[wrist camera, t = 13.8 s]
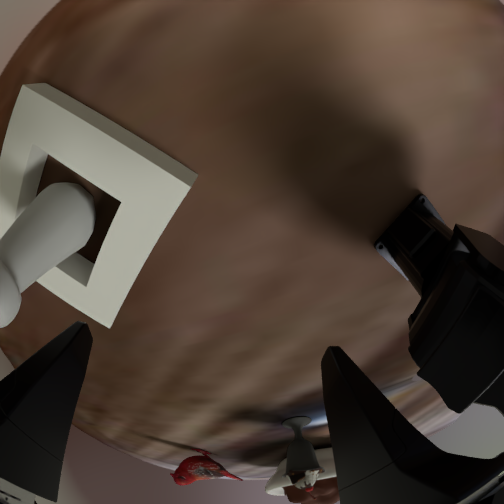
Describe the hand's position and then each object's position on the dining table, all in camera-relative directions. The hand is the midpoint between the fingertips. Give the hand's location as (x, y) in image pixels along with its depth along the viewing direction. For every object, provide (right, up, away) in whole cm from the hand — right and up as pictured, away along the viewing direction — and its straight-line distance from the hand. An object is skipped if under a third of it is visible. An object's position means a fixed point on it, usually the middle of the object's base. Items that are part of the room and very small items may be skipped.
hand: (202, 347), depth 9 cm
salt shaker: (-13, +7, +11) cm, 18 cm away
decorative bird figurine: (-8, -40, +39) cm, 57 cm away
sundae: (+9, -25, +31) cm, 41 cm away
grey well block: (-13, +7, +10) cm, 18 cm away
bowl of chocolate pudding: (+17, -45, +43) cm, 64 cm away
